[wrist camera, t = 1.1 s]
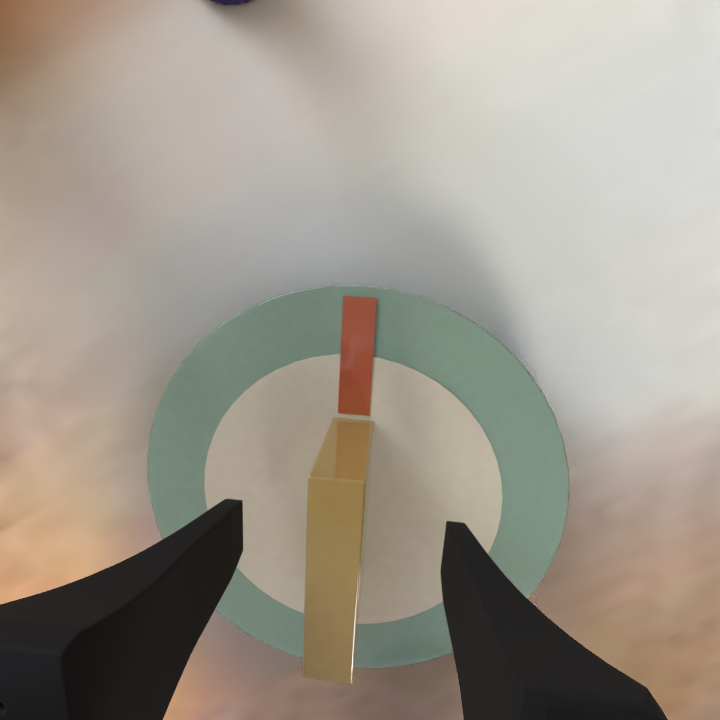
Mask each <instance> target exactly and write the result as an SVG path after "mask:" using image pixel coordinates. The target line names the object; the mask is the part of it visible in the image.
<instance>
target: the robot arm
mask: <svg viewBox="0 0 720 720" xmlns="http://www.w3.org/2000/svg"><path fill="white" fill-rule="evenodd" d="M242 552H243V500H235V499H225V500H223V501H221V502H220V503H218V504H217V505H215V506H214V507H212V508H211V509H209V510H208V511H206V512H205V513H203V514H202V515H200V516H199V517H197V518H196V519H194V520H193V521H191V522H190V523H188V524H187V525H185V526H184V527H182V528H181V529H179V530H178V531H176V532H174V533H173V534H171V535H169V536H168V537H166V538H164V539H163V540H161V541H160V542H158V543H156V544H155V545H153V546H151V547H149V548H147V549H146V550H144V551H142V552H140V553H138V554H136V555H134V556H132V557H130V558H128V559H126V560H124V561H122V562H120V563H118V564H116V565H113V566H111V567H109V568H106V569H104V570H102V571H99V572H97V573H95V574H92V575H90V576H88V577H85V578H83V579H80V580H77V581H75V582H72V583H69V584H67V585H64V586H61V587H58V588H55V589H52V590H49V591H46V592H43V593H40V594H36V595H33V596H29V597H26V598H22V599H19V600H15V601H12V602H8V603H5V604H1V605H0V720H163V717H164V715H165V713H166V710H167V708H168V705H169V703H170V701H171V698H172V696H173V693H174V691H175V689H176V686H177V684H178V682H179V680H180V677H181V675H182V673H183V671H184V668H185V666H186V664H187V661H188V659H189V657H190V655H191V653H192V651H193V649H194V647H195V645H196V643H197V641H198V639H199V637H200V635H201V634H202V632H203V630H204V628H205V626H206V625H207V623H208V621H209V619H210V617H211V616H212V614H213V612H214V610H215V608H216V607H217V605H218V603H219V601H220V599H221V597H222V596H223V594H224V592H225V590H226V588H227V586H228V585H229V583H230V581H231V579H232V577H233V574H234V572H235V570H236V567H237V565H238V562H239V560H240V557H241V554H242ZM440 574H441V585H442V596H443V604H444V609H445V614H446V619H447V624H448V629H449V634H450V639H451V644H452V648H453V653H454V658H455V663H456V668H457V673H458V678H459V684H460V690H461V699H462V707H463V716H464V720H668V719H667V718H666V716H665V714H664V713H663V711H662V709H661V708H660V706H659V705H658V703H657V702H656V700H655V699H654V698H653V696H652V695H651V693H650V692H649V690H648V689H647V688H646V687H645V686H643V685H641V684H640V683H638V682H637V681H635V680H633V679H632V678H630V677H629V676H627V675H625V674H624V673H622V672H621V671H619V670H617V669H616V668H614V667H613V666H611V665H609V664H608V663H606V662H605V661H603V660H602V659H601V658H599V657H598V656H596V655H595V654H593V653H592V652H591V651H589V650H588V649H586V648H585V647H584V646H582V645H581V644H580V643H578V642H577V641H576V640H574V639H573V638H572V637H570V636H569V635H568V634H567V633H565V632H564V631H563V630H562V629H561V628H559V627H558V626H557V625H556V624H555V623H553V622H552V621H551V620H550V619H549V618H547V617H546V616H545V615H544V614H543V613H542V612H541V611H540V610H539V609H538V608H537V607H535V606H534V605H533V604H532V603H531V602H530V601H529V600H528V599H527V598H526V597H525V596H524V595H523V594H522V593H521V592H520V591H519V590H518V589H517V588H516V587H515V586H514V584H513V583H512V582H511V581H510V580H509V579H508V578H507V577H506V576H505V574H504V573H503V572H502V571H501V570H500V568H499V567H498V566H497V565H496V564H495V562H494V561H493V560H492V559H491V557H490V556H489V555H488V554H487V552H486V551H485V550H484V548H483V547H482V546H481V544H480V543H479V542H478V540H477V539H476V537H475V536H474V535H473V533H472V532H471V530H470V529H469V528H468V526H467V525H466V524H465V523H462V522H452V521H446V529H445V538H444V546H443V554H442V562H441V570H440Z"/></svg>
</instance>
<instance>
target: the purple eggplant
mask: <svg viewBox="0 0 720 720" xmlns="http://www.w3.org/2000/svg"><path fill="white" fill-rule="evenodd" d="M211 1H213V2H215V3H220V4H224V5H236V4H241V3H245V2H247V1H249V0H211Z"/></svg>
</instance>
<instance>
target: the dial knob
mask: <svg viewBox="0 0 720 720" xmlns="http://www.w3.org/2000/svg"><path fill="white" fill-rule="evenodd" d="M148 485H149V492H150V499H151V504H152V508H153V512H154V515H155V519H156V522H157V526H158V528H159V531H160V533H161V535H162V538H163V539H164V538H166V537H168V536H169V535H171V534H173V533H174V532H176V531H178V530H179V529H181V528H182V527H184V526H185V525H187V524H188V523H190V522H191V521H193V520H194V519H196V518H197V517H199V516H200V515H202V514H203V513H205V512H206V511H208V510H209V509H211V508H212V507H214V506H215V505H217V504H218V503H220V502H221V501H223V500H225V499H235V500H243V552H242V554H241V557H240V560H239V562H238V565H237V567H236V570H235V572H234V574H233V577H232V579H231V581H230V583H229V585H228V586H227V588H226V590H225V592H224V594H223V596H222V597H221V599H220V601H219V603H218V605H217V607H216V608H215V610H216V611H217V612H218V613H219V614H221V615H222V616H223V617H224V618H225V619H226V620H228V621H229V622H231V623H232V624H233V625H235V626H236V627H238V628H239V629H241V630H242V631H244V632H245V633H247V634H248V635H250V636H252V637H254V638H256V639H258V640H259V641H261V642H263V643H265V644H267V645H269V646H271V647H273V648H276V649H278V650H281V651H283V652H286V653H288V654H291V655H294V656H297V657H300V658H303V672H302V675H303V677H304V678H308V679H316V680H323V681H331V682H338V683H346V684H352V682H353V676H354V667H355V668H389V667H396V666H403V665H411V664H416V663H420V662H424V661H427V660H431V659H435V658H438V657H441V656H444V655H446V654H449V653H452V652H453V648H452V644H451V639H450V634H449V629H448V624H447V619H446V614H445V609H444V604H443V596H442V585H441V574H440V570H441V562H442V554H443V546H444V538H445V529H446V521H452V522H462V523H465V524H466V525H467V526H468V528H469V529H470V530H471V532H472V533H473V535H474V536H475V537H476V539H477V540H478V542H479V543H480V544H481V546H482V547H483V548H484V550H485V551H486V552H487V554H488V555H489V556H490V557H491V559H492V560H493V561H494V562H495V564H496V565H497V566H498V567H499V568H500V570H501V571H502V572H503V573H504V574H505V576H506V577H507V578H508V579H509V580H510V581H511V582H512V583H513V584H514V586H515V587H516V588H517V589H518V590H519V591H520V592H521V593H522V594H523V595H524V596H525V597H526V598H527V599H528V598H529V596H530V595H531V594H532V593H533V592H534V590H535V589H536V588H537V586H538V585H539V583H540V581H541V580H542V578H543V577H544V575H545V574H546V572H547V570H548V569H549V567H550V565H551V562H552V560H553V558H554V556H555V553H556V551H557V549H558V547H559V544H560V540H561V537H562V533H563V530H564V526H565V522H566V516H567V508H568V500H569V476H568V464H567V459H566V453H565V448H564V442H563V439H562V436H561V433H560V430H559V427H558V425H557V422H556V419H555V416H554V414H553V412H552V410H551V408H550V406H549V404H548V402H547V400H546V398H545V396H544V395H543V393H542V391H541V389H540V388H539V386H538V385H537V384H536V382H535V381H534V379H533V378H532V377H531V375H530V374H529V372H528V371H527V370H526V368H525V367H524V366H523V365H522V364H521V363H520V362H519V360H518V359H517V358H516V357H515V356H514V355H513V354H512V353H511V352H510V351H509V350H508V349H507V348H506V347H505V346H504V345H503V344H502V343H501V342H499V341H498V340H497V339H496V338H494V337H493V336H492V335H490V334H489V333H488V332H487V331H485V330H484V329H483V328H481V327H480V326H479V325H477V324H476V323H474V322H473V321H471V320H469V319H467V318H466V317H464V316H462V315H461V314H459V313H457V312H455V311H454V310H452V309H450V308H448V307H446V306H444V305H441V304H439V303H436V302H434V301H431V300H429V299H427V298H424V297H422V296H418V295H415V294H411V293H407V292H403V291H400V290H396V289H392V288H384V287H376V286H369V285H329V286H322V287H315V288H308V289H302V290H298V291H294V292H291V293H287V294H284V295H280V296H276V297H273V298H270V299H268V300H266V301H263V302H261V303H259V304H257V305H254V306H252V307H250V308H248V309H245V310H243V311H242V312H240V313H239V314H237V315H235V316H234V317H232V318H231V319H229V320H227V321H226V322H224V323H223V324H221V325H220V326H219V327H217V328H216V329H215V330H214V331H213V332H212V333H210V334H209V335H208V336H207V337H206V338H204V339H203V340H202V341H201V342H200V343H199V344H198V345H197V346H196V347H195V349H194V350H193V351H192V352H191V353H190V354H189V355H188V356H187V358H186V359H185V360H184V361H183V362H182V364H181V365H180V367H179V368H178V370H177V371H176V373H175V374H174V376H173V378H172V379H171V381H170V382H169V384H168V386H167V388H166V390H165V392H164V395H163V397H162V399H161V401H160V403H159V406H158V408H157V412H156V415H155V419H154V422H153V426H152V429H151V434H150V441H149V449H148Z"/></svg>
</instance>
